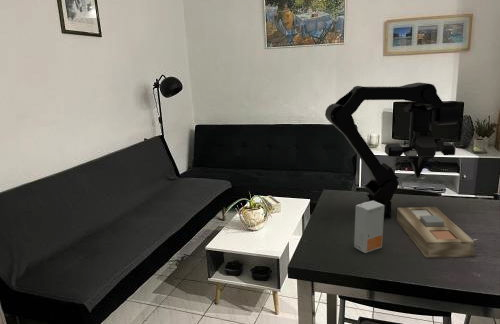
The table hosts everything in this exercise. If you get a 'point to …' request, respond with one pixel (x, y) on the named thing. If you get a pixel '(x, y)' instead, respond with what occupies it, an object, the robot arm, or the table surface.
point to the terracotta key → (443, 235)
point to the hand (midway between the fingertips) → (417, 176)
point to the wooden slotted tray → (428, 241)
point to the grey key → (432, 221)
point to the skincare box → (369, 226)
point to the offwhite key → (420, 212)
